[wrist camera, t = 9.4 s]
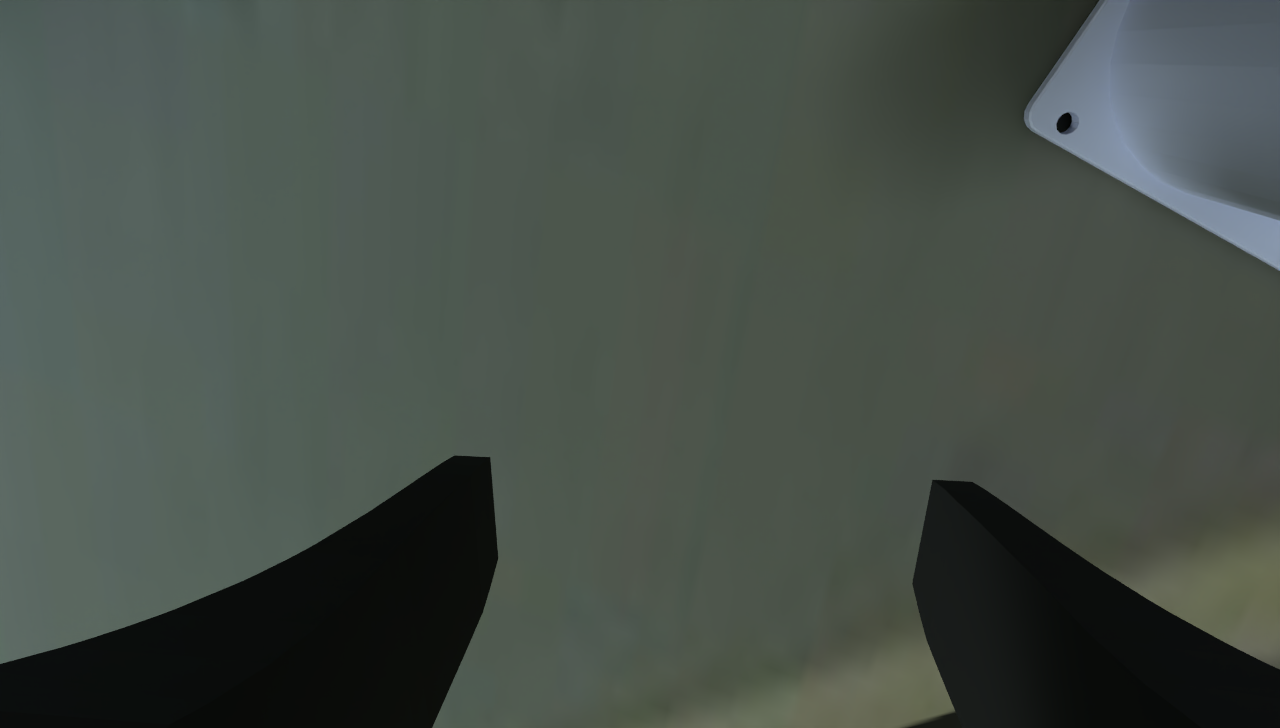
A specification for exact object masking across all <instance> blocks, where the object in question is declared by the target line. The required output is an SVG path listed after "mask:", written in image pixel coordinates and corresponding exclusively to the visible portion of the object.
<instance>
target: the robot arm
mask: <svg viewBox="0 0 1280 728" xmlns="http://www.w3.org/2000/svg"><path fill="white" fill-rule="evenodd" d="M1065 113H1069V114H1070V115H1071V116H1072V123H1071V125H1070V127H1069V128H1068V129H1067V130H1066V131H1064V132H1061V133H1059V131H1058V130H1057V126H1056V123H1057V121H1058V119H1059V117H1061V116H1062V115H1063V114H1065ZM1024 121H1025V123H1026V126H1027V127H1028V128H1029V129H1030V130H1031V131H1032V132H1034V133H1036V134H1038V135H1039V136H1041V137H1043V138H1045V139H1047V140H1048V141H1050V142H1052V143H1054V144H1055V145H1057V146H1059V147H1061V148H1062V149H1064V150H1066V151H1068V152H1070V153H1071V154H1073V155H1075V156H1077V157H1078V158H1080V159H1082V160H1084V161H1086V162H1087V163H1089V164H1091V165H1093V166H1094V167H1096V168H1098V169H1100V170H1102V171H1103V172H1105V173H1107V174H1109V175H1110V176H1112V177H1114V178H1116V179H1117V180H1119V181H1121V182H1123V183H1125V184H1126V185H1128V186H1130V187H1132V188H1133V189H1135V190H1137V191H1139V192H1141V193H1142V194H1144V195H1146V196H1148V197H1149V198H1151V199H1153V200H1155V201H1157V202H1158V203H1160V204H1162V205H1164V206H1165V207H1167V208H1169V209H1171V210H1172V211H1174V212H1176V213H1178V214H1180V215H1181V216H1183V217H1185V218H1187V219H1188V220H1190V221H1192V222H1194V223H1196V224H1197V225H1199V226H1201V227H1203V228H1204V229H1206V230H1208V231H1210V232H1212V233H1213V234H1215V235H1217V236H1219V237H1220V238H1222V239H1224V240H1226V241H1227V242H1229V243H1231V244H1233V245H1235V246H1236V247H1238V248H1240V249H1242V250H1243V251H1245V252H1247V253H1249V254H1251V255H1252V256H1254V257H1256V258H1258V259H1259V260H1261V261H1263V262H1265V263H1267V264H1268V265H1270V266H1272V267H1274V268H1275V269H1277V270H1279V271H1280V0H1099V2H1098V3H1097V5H1096V6H1095V8H1094V9H1093V10H1092V12H1091V13H1090V15H1089V16H1088V18H1087V19H1086V21H1085V22H1084V23H1083V25H1082V26H1081V28H1080V29H1079V31H1078V32H1077V34H1076V35H1075V37H1074V38H1073V39H1072V41H1071V42H1070V44H1069V45H1068V47H1067V48H1066V50H1065V51H1064V52H1063V54H1062V55H1061V57H1060V58H1059V60H1058V61H1057V63H1056V64H1055V65H1054V67H1053V68H1052V70H1051V71H1050V73H1049V74H1048V76H1047V77H1046V78H1045V80H1044V81H1043V83H1042V84H1041V86H1040V87H1039V89H1038V90H1037V92H1036V93H1035V94H1034V96H1033V97H1032V99H1031V100H1030V102H1029V103H1028V105H1027V107H1026V109H1025V113H1024ZM497 561H498V550H497V537H496V525H495V512H494V500H493V487H492V475H491V462H490V457H472V456H453V457H451V458H450V459H448V460H446V461H444V462H443V463H441V464H440V465H438V466H437V467H435V468H434V469H432V470H431V471H429V472H428V473H426V474H425V475H423V476H422V477H420V478H419V479H417V480H416V481H414V482H413V483H411V484H410V485H409V486H407V487H406V488H404V489H403V490H401V491H400V492H398V493H397V494H395V495H394V496H392V497H391V498H389V499H388V500H386V501H385V502H383V503H382V504H380V505H379V506H377V507H376V508H374V509H373V510H371V511H369V512H368V513H366V514H365V515H363V516H361V517H360V518H358V519H356V520H355V521H353V522H351V523H350V524H348V525H347V526H345V527H343V528H342V529H340V530H338V531H337V532H335V533H333V534H332V535H330V536H328V537H327V538H325V539H323V540H322V541H320V542H318V543H317V544H315V545H313V546H311V547H310V548H308V549H306V550H304V551H302V552H300V553H298V554H297V555H295V556H293V557H291V558H289V559H287V560H285V561H283V562H281V563H279V564H277V565H275V566H273V567H271V568H269V569H267V570H265V571H263V572H261V573H259V574H257V575H255V576H253V577H250V578H248V579H246V580H244V581H242V582H240V583H237V584H235V585H232V586H230V587H228V588H225V589H223V590H220V591H218V592H216V593H213V594H211V595H208V596H206V597H204V598H201V599H199V600H196V601H194V602H192V603H189V604H187V605H184V606H182V607H180V608H177V609H175V610H172V611H169V612H167V613H164V614H161V615H159V616H156V617H153V618H150V619H147V620H145V621H142V622H139V623H136V624H133V625H131V626H128V627H125V628H121V629H118V630H115V631H112V632H109V633H106V634H103V635H100V636H97V637H94V638H91V639H88V640H85V641H81V642H78V643H75V644H71V645H68V646H65V647H61V648H58V649H54V650H50V651H47V652H43V653H39V654H36V655H32V656H28V657H25V658H21V659H17V660H14V661H10V662H6V663H3V664H0V728H432V727H433V724H434V722H435V720H436V718H437V715H438V713H439V711H440V709H441V706H442V704H443V702H444V700H445V697H446V695H447V693H448V691H449V688H450V686H451V684H452V681H453V679H454V677H455V675H456V672H457V670H458V668H459V666H460V663H461V661H462V659H463V657H464V654H465V652H466V650H467V648H468V645H469V643H470V641H471V638H472V636H473V634H474V631H475V629H476V627H477V624H478V622H479V620H480V617H481V615H482V613H483V610H484V606H485V603H486V600H487V596H488V593H489V590H490V586H491V583H492V579H493V575H494V572H495V568H496V564H497ZM912 584H913V588H914V592H915V596H916V601H917V605H918V609H919V613H920V617H921V621H922V624H923V628H924V632H925V635H926V639H927V642H928V645H929V647H930V650H931V652H932V655H933V657H934V660H935V662H936V665H937V667H938V670H939V672H940V675H941V677H942V680H943V682H944V685H945V687H946V689H947V692H948V694H949V697H950V699H951V702H952V704H953V706H954V709H955V711H956V714H957V716H958V718H959V721H960V723H961V725H962V728H1280V670H1279V669H1277V668H1275V667H1273V666H1271V665H1269V664H1267V663H1264V662H1262V661H1260V660H1258V659H1256V658H1254V657H1252V656H1250V655H1248V654H1246V653H1244V652H1242V651H1240V650H1238V649H1236V648H1234V647H1232V646H1230V645H1228V644H1227V643H1225V642H1223V641H1221V640H1219V639H1217V638H1215V637H1214V636H1212V635H1210V634H1208V633H1206V632H1204V631H1203V630H1201V629H1199V628H1197V627H1195V626H1193V625H1192V624H1190V623H1188V622H1186V621H1184V620H1182V619H1181V618H1179V617H1177V616H1175V615H1173V614H1172V613H1170V612H1168V611H1166V610H1165V609H1163V608H1161V607H1160V606H1158V605H1156V604H1154V603H1153V602H1151V601H1149V600H1148V599H1146V598H1145V597H1143V596H1141V595H1140V594H1138V593H1137V592H1135V591H1133V590H1132V589H1130V588H1129V587H1127V586H1125V585H1124V584H1122V583H1121V582H1119V581H1117V580H1116V579H1114V578H1113V577H1111V576H1109V575H1108V574H1106V573H1105V572H1103V571H1102V570H1100V569H1099V568H1097V567H1096V566H1094V565H1093V564H1091V563H1090V562H1088V561H1087V560H1085V559H1084V558H1082V557H1081V556H1079V555H1078V554H1076V553H1075V552H1073V551H1072V550H1070V549H1069V548H1068V547H1066V546H1065V545H1063V544H1062V543H1060V542H1059V541H1058V540H1056V539H1055V538H1053V537H1052V536H1050V535H1049V534H1048V533H1046V532H1045V531H1043V530H1042V529H1041V528H1039V527H1038V526H1036V525H1035V524H1033V523H1032V522H1031V521H1029V520H1028V519H1026V518H1025V517H1024V516H1022V515H1021V514H1019V513H1018V512H1017V511H1015V510H1014V509H1012V508H1011V507H1010V506H1008V505H1007V504H1005V503H1004V502H1002V501H1001V500H1000V499H998V498H997V497H995V496H994V495H992V494H991V493H989V492H988V491H986V490H985V489H983V488H982V487H980V486H978V485H976V484H975V483H973V482H964V481H944V480H932V485H931V491H930V496H929V501H928V506H927V511H926V516H925V521H924V526H923V532H922V537H921V542H920V547H919V552H918V557H917V562H916V568H915V573H914V578H913V583H912Z"/></svg>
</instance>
